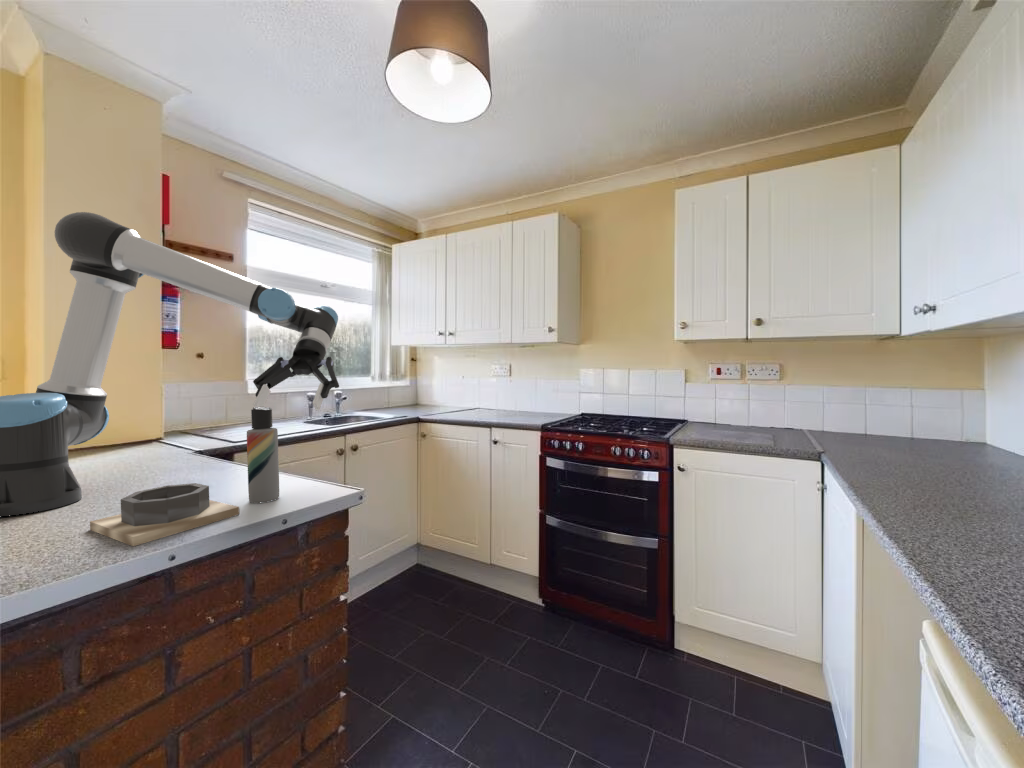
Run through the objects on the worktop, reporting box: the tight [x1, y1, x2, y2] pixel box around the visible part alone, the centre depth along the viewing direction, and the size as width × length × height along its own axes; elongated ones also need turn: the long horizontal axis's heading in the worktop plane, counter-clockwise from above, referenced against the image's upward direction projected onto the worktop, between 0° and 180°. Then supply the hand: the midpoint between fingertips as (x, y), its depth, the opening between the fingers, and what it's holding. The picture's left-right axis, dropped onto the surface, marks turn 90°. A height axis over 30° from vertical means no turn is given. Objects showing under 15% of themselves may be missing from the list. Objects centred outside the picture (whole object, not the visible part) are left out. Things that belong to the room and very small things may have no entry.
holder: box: [89, 482, 240, 547], centre depth 75 cm, size 16×16×6 cm
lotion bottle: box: [246, 406, 280, 504], centre depth 88 cm, size 6×6×20 cm
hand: (286, 407), depth 98 cm, fingers open, 13 cm apart
